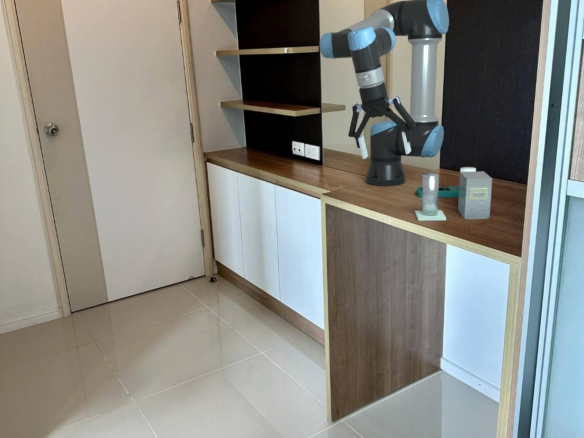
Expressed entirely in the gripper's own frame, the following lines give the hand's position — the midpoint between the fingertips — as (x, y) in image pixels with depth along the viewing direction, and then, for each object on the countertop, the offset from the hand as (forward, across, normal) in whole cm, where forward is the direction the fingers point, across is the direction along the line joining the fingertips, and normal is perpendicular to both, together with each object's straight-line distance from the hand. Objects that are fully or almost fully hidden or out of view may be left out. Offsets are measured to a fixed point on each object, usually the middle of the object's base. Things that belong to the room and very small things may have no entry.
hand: (386, 155), depth 160 cm
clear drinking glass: (+20, +10, -1) cm, 22 cm away
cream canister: (+24, +17, +15) cm, 33 cm away
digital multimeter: (+25, +5, +25) cm, 36 cm away
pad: (+20, +10, -1) cm, 23 cm away
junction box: (+23, +21, +6) cm, 32 cm away
